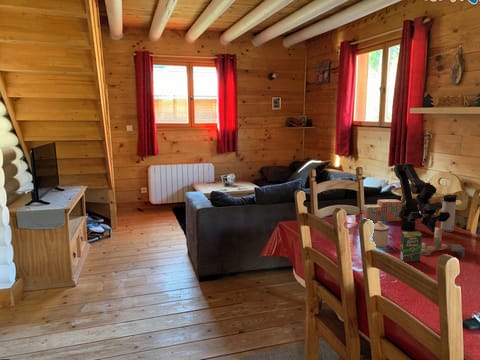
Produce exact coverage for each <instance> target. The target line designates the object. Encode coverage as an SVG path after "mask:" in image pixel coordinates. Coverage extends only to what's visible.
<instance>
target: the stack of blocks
mask: <svg viewBox="0 0 480 360" xmlns="http://www.w3.org/2000/svg"><path fill="white" fill-rule="evenodd" d="M376 202H377V203H376V204H363V205H362V218H366V219H370V220H372V221H373V222H372V223H374V222H375V223H378V221H380V222H382V223H383V222H401V218H400V217H399V213H400V211H401V210H402V205H403V204H402V203H403V202H402V201H401V200H398V199H395V198H394V199H393V198H392V199H391V198H390V199H388V198H387V199H377V201H376Z"/></svg>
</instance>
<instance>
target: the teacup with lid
mask: <svg viewBox="0 0 480 360" xmlns="http://www.w3.org/2000/svg"><path fill="white" fill-rule="evenodd" d="M373 224H374V233H373V237H372V238H373V241H374V242H375V244H376V246H375V247H377V248H384V247H387V246H388V245H389V230H390V227H389V226H388V225H385V224H384V223H383V222H380V221H378V222H375V223H373Z"/></svg>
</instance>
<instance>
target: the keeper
mask: <svg viewBox="0 0 480 360" xmlns="http://www.w3.org/2000/svg"><path fill="white" fill-rule="evenodd" d="M446 245H447V246H448V249H449V250H450V251H452V252H456V254H457V255H458V256H459V257H460V259H465V254H466V253H465V251H466V249H465V248H464V247H463V246H462V245H461V244H459V243H458V244H455V243H447V244H446Z"/></svg>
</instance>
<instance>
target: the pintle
mask: <svg viewBox="0 0 480 360" xmlns="http://www.w3.org/2000/svg"><path fill="white" fill-rule="evenodd" d="M426 245H427V243H426V242H422V241H421V246H422V249H425V248H426V247H427V246H426ZM431 253H432V252H431ZM431 253H426V254H422V253H420V256H430V255H432V254H431Z"/></svg>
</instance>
